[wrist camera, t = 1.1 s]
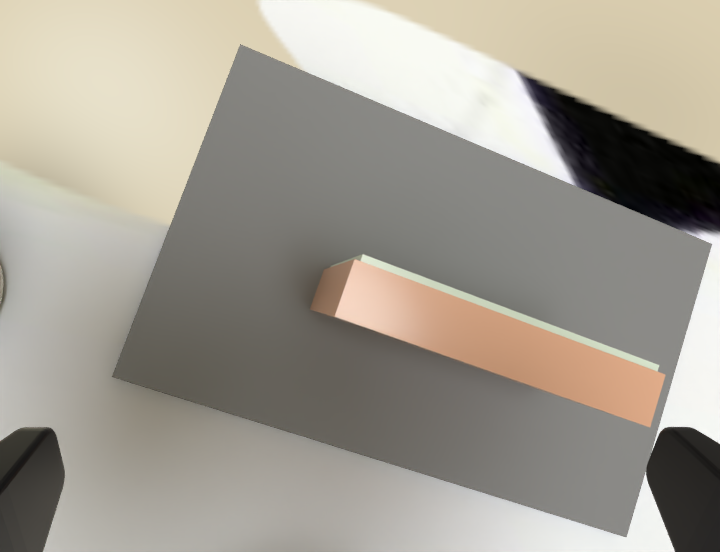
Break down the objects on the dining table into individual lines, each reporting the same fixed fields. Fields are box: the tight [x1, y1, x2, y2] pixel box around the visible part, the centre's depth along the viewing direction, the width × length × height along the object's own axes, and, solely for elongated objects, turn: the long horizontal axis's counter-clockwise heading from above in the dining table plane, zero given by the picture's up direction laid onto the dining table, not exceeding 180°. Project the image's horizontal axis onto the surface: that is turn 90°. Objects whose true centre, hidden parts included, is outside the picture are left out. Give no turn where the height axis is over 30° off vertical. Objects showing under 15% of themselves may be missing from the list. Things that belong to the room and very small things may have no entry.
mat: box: [112, 44, 712, 537], centre depth 25 cm, size 15×24×1 cm, turn 70°
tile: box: [310, 254, 665, 427], centre depth 21 cm, size 2×11×8 cm, turn 70°
